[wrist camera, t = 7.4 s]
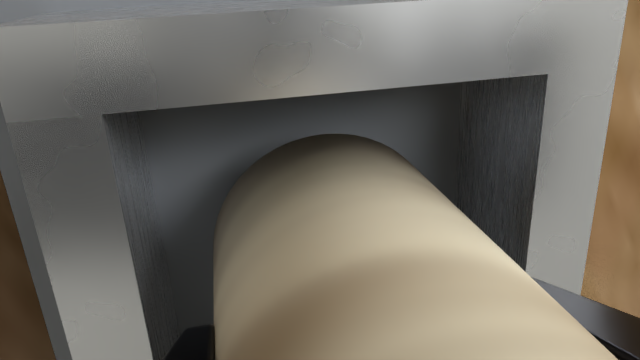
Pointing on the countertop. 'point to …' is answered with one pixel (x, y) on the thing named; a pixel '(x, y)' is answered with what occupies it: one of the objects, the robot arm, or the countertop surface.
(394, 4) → the socket collar
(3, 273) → the countertop surface
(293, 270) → the beech peg
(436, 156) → the socket plate
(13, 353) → the countertop surface
